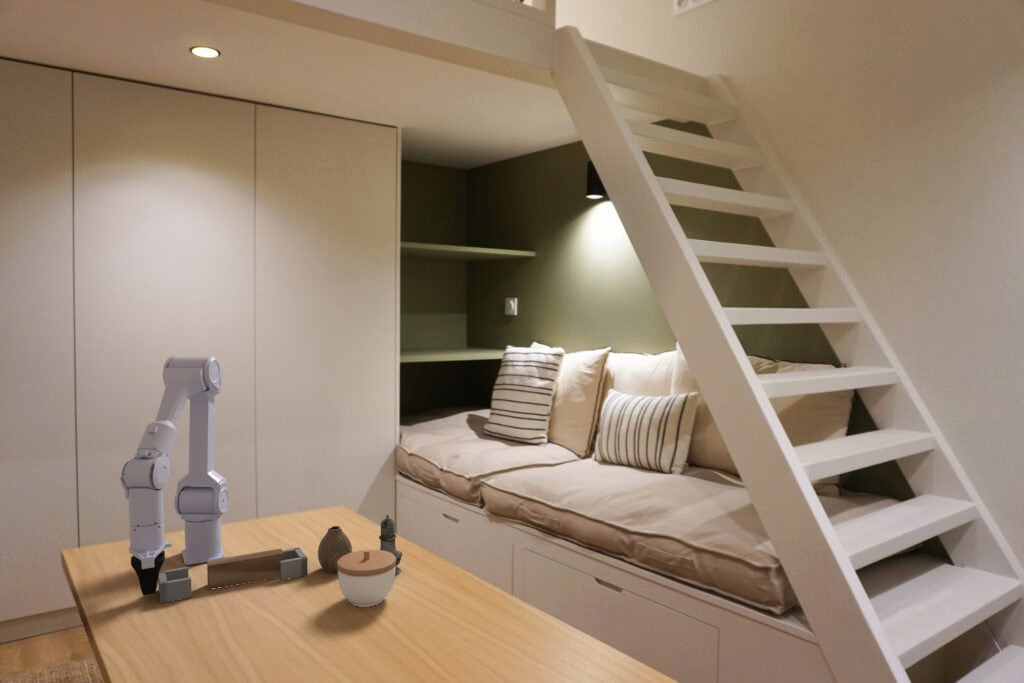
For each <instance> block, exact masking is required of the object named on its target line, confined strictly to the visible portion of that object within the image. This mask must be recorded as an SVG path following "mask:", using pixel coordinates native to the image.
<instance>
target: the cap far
mask: <svg viewBox="0 0 1024 683" xmlns="http://www.w3.org/2000/svg"><path fill="white" fill-rule="evenodd" d="M282 551H283V553H284V560H283V561H280V577H279V579H280V581H284V579H286V580H289V579H288V578H291V579H294V578H293V577H296V578H301V577H306V576H308V574H309V573H308V570H309V569H308V556H307V555H306V554H305V553H304V551H303V550H302V549H301V548H300V546H299V547H294V548H288V549H282ZM300 576H301V577H300Z"/></svg>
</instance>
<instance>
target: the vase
mask: <svg viewBox="0 0 1024 683" xmlns="http://www.w3.org/2000/svg"><path fill="white" fill-rule="evenodd" d="M352 552H353V546H352V543H351V540H350V539H349V537H348V536H347V534H346V533H344V531H343V529H342V528H341V526H339V525H333V526H329V527H328V529H327V531H326V533H325V535H324V536H323V537H322V538H321V540H320V542H319V544H318V549H317V560H318V563H319V565H320V567H321V568H322V569H323V570H324V571H325V572H327V573H330V574H331V573H332V574H333V573H336V574H337V573H338V569H337V562H338V560H339V559H340V558H341V557H342V556H344V555H346V554H349V553H352Z"/></svg>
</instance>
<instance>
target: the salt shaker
mask: <svg viewBox="0 0 1024 683" xmlns="http://www.w3.org/2000/svg"><path fill="white" fill-rule="evenodd" d="M389 517H390V516H389V514H386V516H385V518H384V519H383V520H381V522H380V535H379V536H378V539H379V540H380V549H379V550H383V551H387V552H390V553H392V554H394V555H395V557H396V565H395V566H396V570H395V575H396V576H399V575H400V574H401V573H402V569H401V568H400V567H398V566H399V564H400V562H401V561H402V557H403V552H402V551H399V550H397V548H396V538H397V537H398V536H397V534H395V533H396V532H395V529H396V528H395V527H396V526H395V524H396V523H395V521H394V519H392V518H389ZM400 572H401V573H400ZM399 573H400V574H399Z"/></svg>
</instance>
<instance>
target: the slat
mask: <svg viewBox="0 0 1024 683" xmlns="http://www.w3.org/2000/svg"><path fill="white" fill-rule="evenodd" d="M282 550H283V549H282V548H276V549H270V550H263V551H258V552H252V553H246V554H240V555H239V554H238V555H235V556H228V557H226V558H221V559H215V560H209V561H207V562H206V571H207V572H206V575H207V576H206V577H207V587H208V586H209V588H208V590H209V589H212V588H218V587H224V588H226V587H225V586H230V585H235V586H237V585H236V584H240V585H243V584H242V583H246V584H249V583H248V582H251V583H255V582H254V581H257V582H261V581H260V580H262V581H265V580H264V579H267V580H272V579H271V578H273V579H276V578H275V577H278V578H280V561H283V560H284V553H283V551H282ZM230 587H231V586H230Z"/></svg>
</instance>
